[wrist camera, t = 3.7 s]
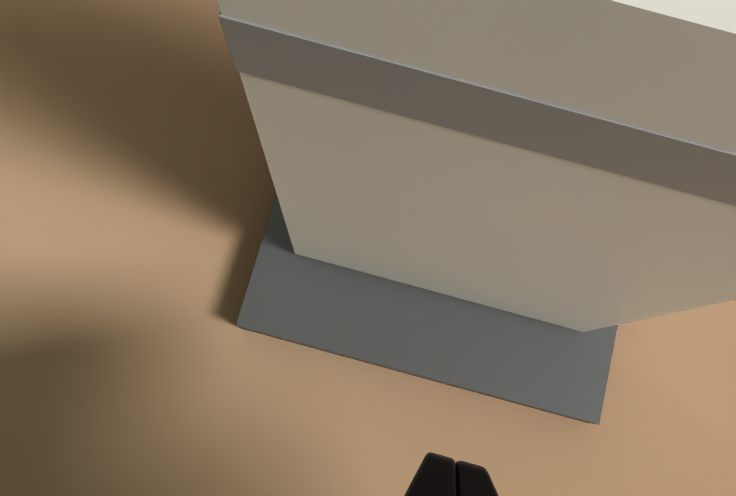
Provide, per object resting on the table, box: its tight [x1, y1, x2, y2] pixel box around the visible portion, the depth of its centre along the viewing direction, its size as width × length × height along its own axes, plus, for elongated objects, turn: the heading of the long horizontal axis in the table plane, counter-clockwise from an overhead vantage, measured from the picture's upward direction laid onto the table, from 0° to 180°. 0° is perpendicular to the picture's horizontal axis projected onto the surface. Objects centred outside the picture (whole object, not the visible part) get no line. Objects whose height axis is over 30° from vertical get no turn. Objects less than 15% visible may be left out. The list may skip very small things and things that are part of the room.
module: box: [217, 0, 736, 332], centre depth 10 cm, size 4×7×14 cm, turn 75°
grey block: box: [236, 194, 617, 424], centre depth 14 cm, size 14×20×9 cm
